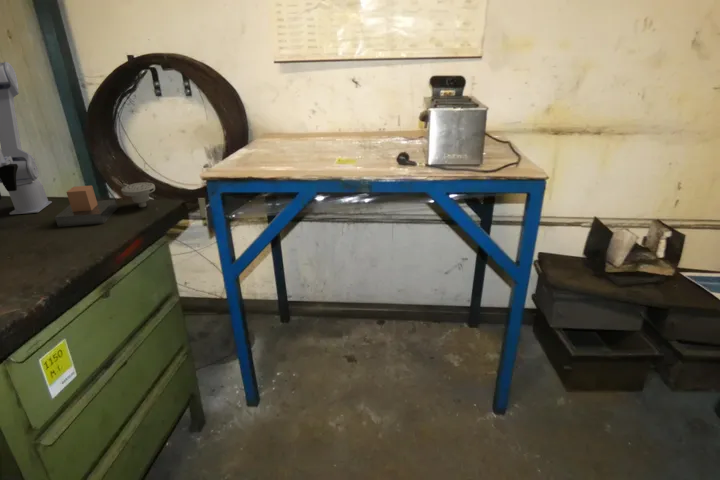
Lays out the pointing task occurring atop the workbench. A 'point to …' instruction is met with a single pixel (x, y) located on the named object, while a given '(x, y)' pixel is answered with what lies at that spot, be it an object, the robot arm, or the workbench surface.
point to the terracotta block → (82, 198)
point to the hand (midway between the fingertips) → (4, 195)
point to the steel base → (87, 214)
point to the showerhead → (138, 192)
